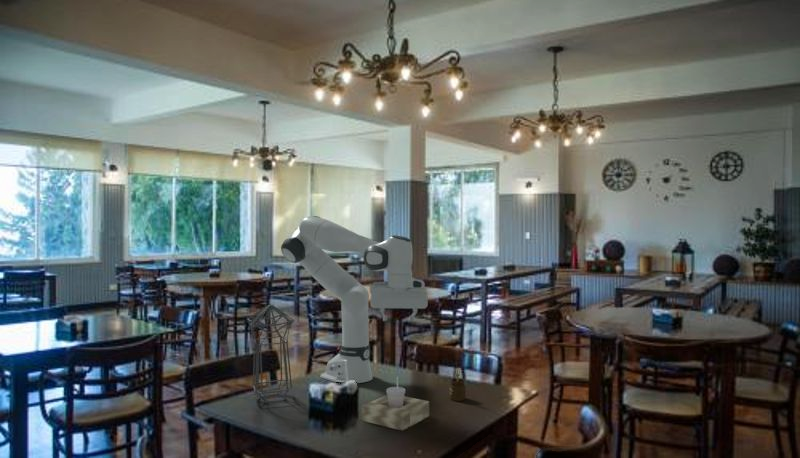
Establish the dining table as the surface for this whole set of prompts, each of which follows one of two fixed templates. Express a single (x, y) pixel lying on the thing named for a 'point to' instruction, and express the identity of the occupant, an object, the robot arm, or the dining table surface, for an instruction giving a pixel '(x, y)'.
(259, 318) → the geometric lantern
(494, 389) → the dining table surface
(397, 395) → the smoothie
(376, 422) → the socket block
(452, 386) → the brown bottle
